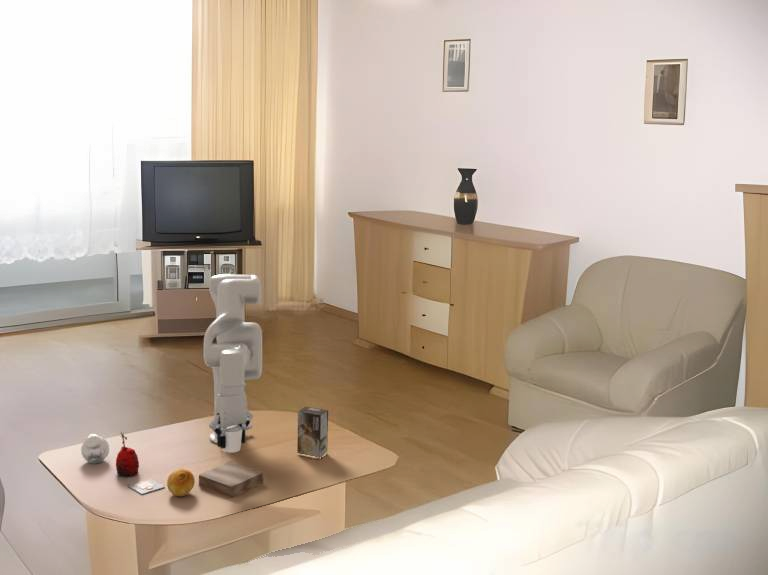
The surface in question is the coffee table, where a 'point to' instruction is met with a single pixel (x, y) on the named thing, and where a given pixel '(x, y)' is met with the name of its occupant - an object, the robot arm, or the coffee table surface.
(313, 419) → the coffee box
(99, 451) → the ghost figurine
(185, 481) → the fruit
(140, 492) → the card
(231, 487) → the walnut block
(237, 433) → the shot glass
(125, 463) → the red clay folk toy
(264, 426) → the coffee table surface
